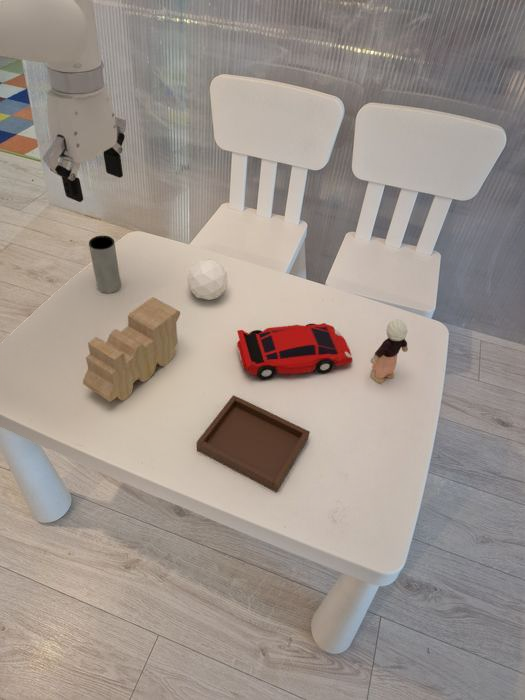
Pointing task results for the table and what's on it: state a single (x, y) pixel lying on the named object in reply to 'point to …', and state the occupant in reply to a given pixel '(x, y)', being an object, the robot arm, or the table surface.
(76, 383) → the table surface
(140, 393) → the table surface
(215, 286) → the geometric ball
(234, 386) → the table surface
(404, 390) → the table surface
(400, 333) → the grandmother figurine
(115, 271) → the grey hollow cylinder
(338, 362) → the toy car
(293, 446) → the tray
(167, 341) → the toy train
